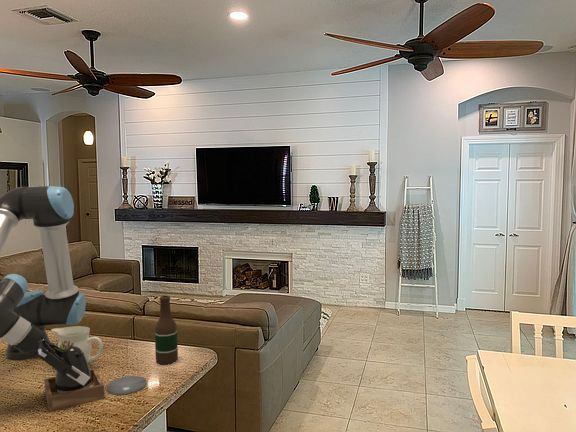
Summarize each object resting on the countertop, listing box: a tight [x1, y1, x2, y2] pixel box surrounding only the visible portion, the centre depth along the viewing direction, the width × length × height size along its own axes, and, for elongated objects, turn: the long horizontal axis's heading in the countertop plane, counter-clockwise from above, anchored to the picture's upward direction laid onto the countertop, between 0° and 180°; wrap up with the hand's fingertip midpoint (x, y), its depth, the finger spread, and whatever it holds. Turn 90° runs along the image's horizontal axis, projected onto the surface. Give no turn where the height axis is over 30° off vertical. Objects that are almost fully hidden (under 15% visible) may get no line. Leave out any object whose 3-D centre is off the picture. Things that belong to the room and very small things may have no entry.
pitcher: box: [50, 325, 104, 363], centre depth 161 cm, size 11×18×14 cm, turn 88°
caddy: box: [43, 367, 105, 412], centre depth 140 cm, size 15×15×4 cm
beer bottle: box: [154, 295, 179, 366], centre depth 165 cm, size 8×8×24 cm
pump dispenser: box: [54, 346, 92, 395], centre depth 140 cm, size 10×10×15 cm
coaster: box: [106, 375, 147, 396], centre depth 146 cm, size 12×12×1 cm
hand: (84, 375), depth 142 cm, fingers closed on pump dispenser, 10 cm apart
